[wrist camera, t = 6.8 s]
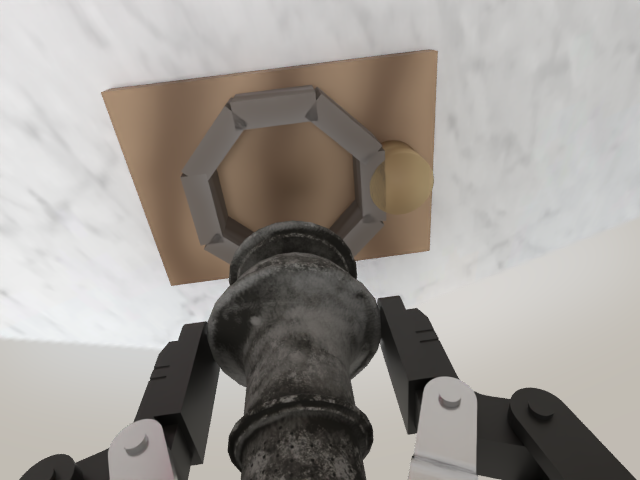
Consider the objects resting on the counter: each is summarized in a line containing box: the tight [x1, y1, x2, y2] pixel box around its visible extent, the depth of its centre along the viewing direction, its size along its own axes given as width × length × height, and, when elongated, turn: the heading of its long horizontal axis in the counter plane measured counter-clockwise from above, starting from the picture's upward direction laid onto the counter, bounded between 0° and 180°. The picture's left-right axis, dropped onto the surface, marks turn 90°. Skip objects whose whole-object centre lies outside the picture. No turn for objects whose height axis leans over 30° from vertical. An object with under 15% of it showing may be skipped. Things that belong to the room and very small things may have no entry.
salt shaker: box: [207, 220, 382, 480], centre depth 11 cm, size 6×6×12 cm
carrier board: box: [101, 50, 438, 286], centre depth 26 cm, size 20×14×4 cm
